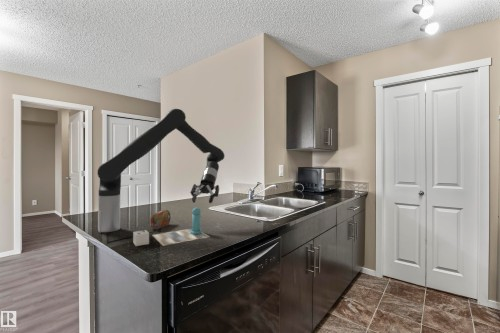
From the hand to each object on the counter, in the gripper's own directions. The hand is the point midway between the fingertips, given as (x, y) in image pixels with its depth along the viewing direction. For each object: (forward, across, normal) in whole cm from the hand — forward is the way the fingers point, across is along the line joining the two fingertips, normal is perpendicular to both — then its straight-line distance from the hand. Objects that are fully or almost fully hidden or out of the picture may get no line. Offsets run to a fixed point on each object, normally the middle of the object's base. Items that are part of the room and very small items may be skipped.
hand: (201, 202), depth 121 cm
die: (+27, -17, -7) cm, 33 cm away
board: (+18, -5, +1) cm, 19 cm away
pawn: (+14, 0, +5) cm, 15 cm away
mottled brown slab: (+10, -22, +10) cm, 26 cm away
